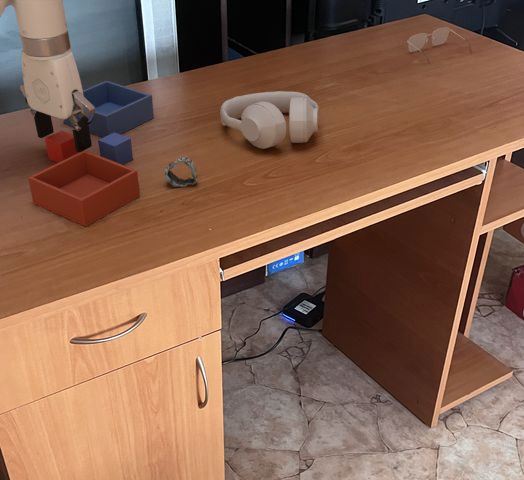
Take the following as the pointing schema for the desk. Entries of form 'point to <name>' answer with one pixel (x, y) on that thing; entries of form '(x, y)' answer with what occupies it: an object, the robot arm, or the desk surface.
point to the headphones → (271, 117)
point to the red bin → (84, 187)
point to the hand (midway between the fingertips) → (64, 142)
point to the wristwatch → (178, 181)
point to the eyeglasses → (436, 39)
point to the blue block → (116, 148)
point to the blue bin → (116, 108)
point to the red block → (60, 146)
